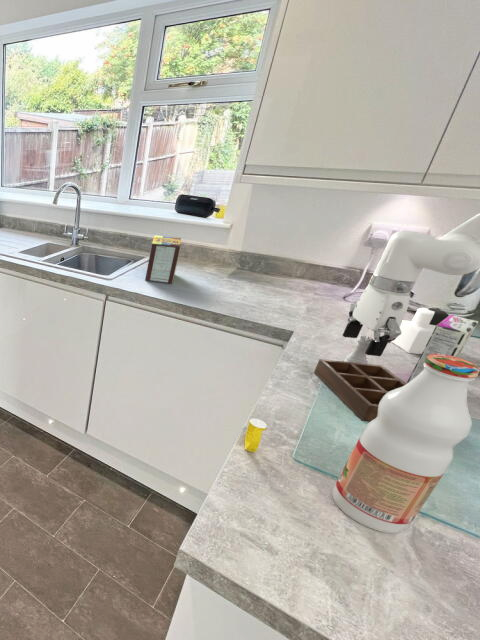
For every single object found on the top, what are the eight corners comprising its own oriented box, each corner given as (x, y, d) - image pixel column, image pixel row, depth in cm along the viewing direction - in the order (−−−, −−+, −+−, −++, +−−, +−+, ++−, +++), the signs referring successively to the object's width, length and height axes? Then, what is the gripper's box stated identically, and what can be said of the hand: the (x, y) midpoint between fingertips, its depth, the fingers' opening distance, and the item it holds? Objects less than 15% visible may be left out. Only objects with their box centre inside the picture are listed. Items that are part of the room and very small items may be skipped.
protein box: (173, 273, 177) (181, 237, 171) (172, 284, 165) (181, 246, 158) (147, 269, 181) (154, 234, 175) (144, 280, 169) (151, 243, 162)
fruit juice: (354, 530, 64) (443, 377, 52) (318, 483, 72) (388, 342, 60) (424, 540, 62) (532, 384, 51) (379, 491, 71) (463, 348, 59)
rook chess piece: (352, 359, 112) (365, 333, 108) (370, 368, 108) (383, 341, 104) (338, 361, 111) (350, 334, 107) (355, 369, 107) (368, 342, 103)
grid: (374, 379, 103) (382, 365, 101) (437, 430, 85) (447, 414, 84) (313, 372, 105) (319, 358, 104) (361, 421, 88) (369, 405, 86)
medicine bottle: (419, 344, 120) (440, 306, 115) (439, 356, 113) (461, 316, 108) (390, 341, 121) (409, 304, 116) (408, 353, 115) (428, 314, 110)
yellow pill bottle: (240, 435, 84) (248, 411, 81) (256, 440, 82) (265, 416, 80) (241, 454, 79) (250, 429, 76) (258, 459, 78) (268, 434, 75)
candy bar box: (418, 372, 106) (449, 313, 99) (445, 381, 102) (480, 321, 95) (403, 384, 101) (435, 324, 94) (431, 395, 97) (468, 332, 90)
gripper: (437, 298, 91) (400, 364, 99) (385, 273, 107) (356, 332, 114) (397, 295, 93) (364, 360, 100) (351, 271, 108) (325, 329, 115)
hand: (360, 345), depth 107 cm, fingers open, 9 cm apart
